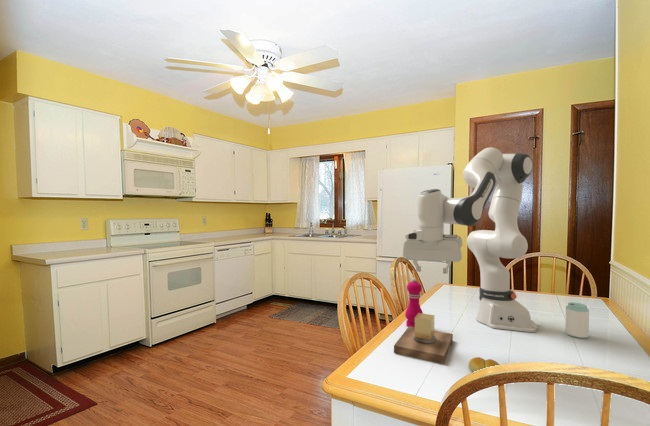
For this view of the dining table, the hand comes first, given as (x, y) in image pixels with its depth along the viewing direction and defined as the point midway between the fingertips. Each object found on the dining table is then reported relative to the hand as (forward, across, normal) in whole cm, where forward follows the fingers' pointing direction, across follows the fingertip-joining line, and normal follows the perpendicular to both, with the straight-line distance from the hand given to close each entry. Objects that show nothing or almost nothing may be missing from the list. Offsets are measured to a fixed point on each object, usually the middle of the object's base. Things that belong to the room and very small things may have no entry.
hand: (431, 272), depth 118 cm
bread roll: (+26, -18, +15) cm, 35 cm away
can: (+28, -47, -32) cm, 63 cm away
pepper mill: (+26, +10, -12) cm, 30 cm away
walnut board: (+25, +2, +6) cm, 26 cm away
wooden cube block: (+22, +2, +6) cm, 22 cm away
